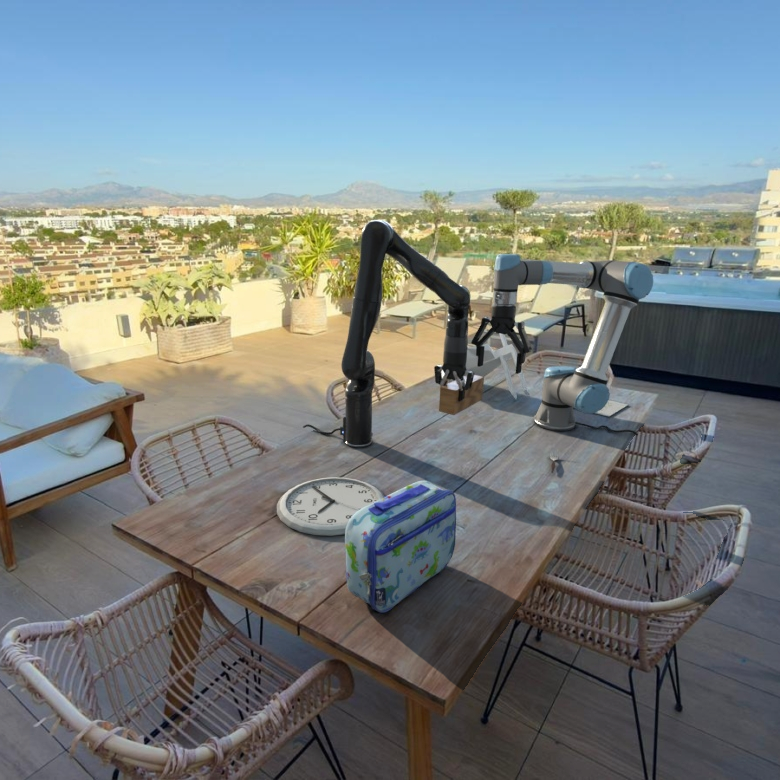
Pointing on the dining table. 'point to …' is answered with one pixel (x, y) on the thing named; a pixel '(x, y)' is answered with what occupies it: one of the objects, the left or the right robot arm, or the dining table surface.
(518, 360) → the right robot arm
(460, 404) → the box
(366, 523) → the lunch box
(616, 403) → the invitation card
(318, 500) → the wall clock
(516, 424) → the dining table surface
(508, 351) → the white plastic object
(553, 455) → the fork
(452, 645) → the dining table surface
